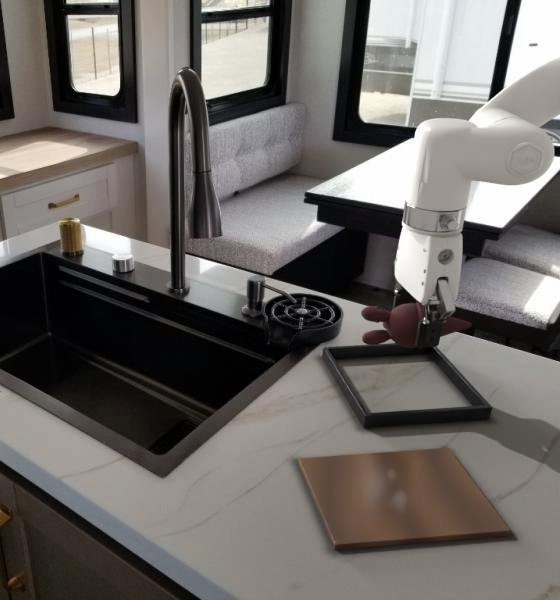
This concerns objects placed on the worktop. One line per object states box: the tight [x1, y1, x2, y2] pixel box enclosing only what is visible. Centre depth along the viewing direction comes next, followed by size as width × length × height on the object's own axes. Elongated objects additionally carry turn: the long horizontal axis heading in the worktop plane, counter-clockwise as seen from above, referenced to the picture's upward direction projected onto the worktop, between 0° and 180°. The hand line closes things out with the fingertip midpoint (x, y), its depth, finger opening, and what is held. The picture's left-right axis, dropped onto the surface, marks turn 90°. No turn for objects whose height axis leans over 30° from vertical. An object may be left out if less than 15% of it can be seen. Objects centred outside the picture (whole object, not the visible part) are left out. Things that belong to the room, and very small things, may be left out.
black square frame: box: [321, 342, 493, 429], centre depth 96 cm, size 18×18×2 cm
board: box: [297, 447, 511, 551], centre depth 76 cm, size 20×14×1 cm
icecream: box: [360, 301, 473, 349], centre depth 92 cm, size 7×7×15 cm
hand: (414, 331), depth 92 cm, fingers closed on icecream, 7 cm apart
